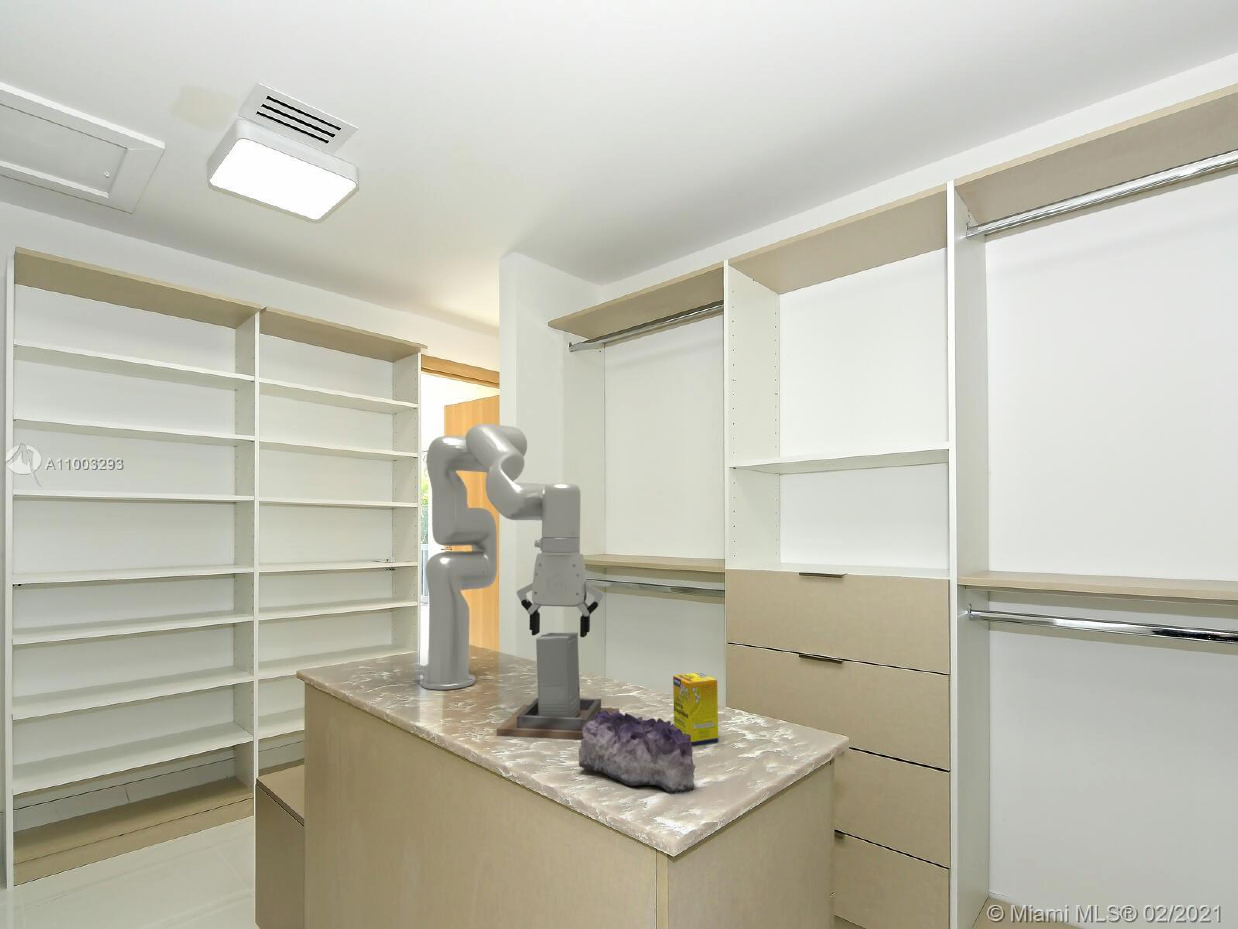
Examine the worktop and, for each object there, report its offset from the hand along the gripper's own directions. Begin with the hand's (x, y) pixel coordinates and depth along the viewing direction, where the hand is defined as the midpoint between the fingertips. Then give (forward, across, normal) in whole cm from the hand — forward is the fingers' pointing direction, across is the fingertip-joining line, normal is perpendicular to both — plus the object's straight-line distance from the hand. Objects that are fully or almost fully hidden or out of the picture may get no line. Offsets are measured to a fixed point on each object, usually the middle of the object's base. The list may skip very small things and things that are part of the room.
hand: (559, 635), depth 127 cm
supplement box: (+16, +27, -6) cm, 32 cm away
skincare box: (+16, 0, 0) cm, 16 cm away
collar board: (+17, +1, 0) cm, 17 cm away
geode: (+17, +19, -22) cm, 34 cm away
